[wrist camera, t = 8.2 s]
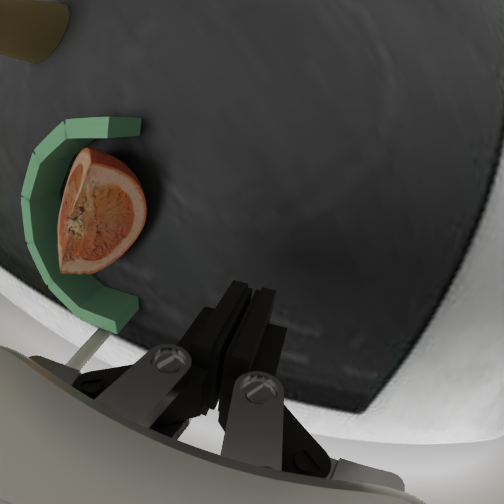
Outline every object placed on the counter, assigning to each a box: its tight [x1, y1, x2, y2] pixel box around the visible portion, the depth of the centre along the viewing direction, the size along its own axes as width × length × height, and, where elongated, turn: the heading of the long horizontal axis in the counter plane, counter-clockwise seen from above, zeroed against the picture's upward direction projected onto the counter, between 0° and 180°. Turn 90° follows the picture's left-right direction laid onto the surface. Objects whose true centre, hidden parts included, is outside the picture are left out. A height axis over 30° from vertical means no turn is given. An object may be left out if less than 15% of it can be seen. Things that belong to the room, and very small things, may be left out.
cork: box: [0, 0, 70, 63], centre depth 9 cm, size 6×6×11 cm
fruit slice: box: [57, 148, 147, 275], centre depth 16 cm, size 8×7×5 cm
